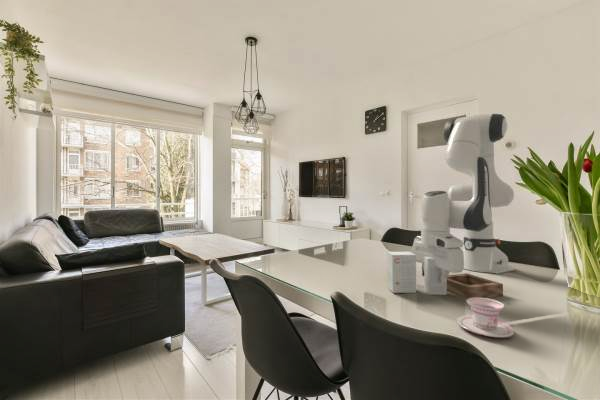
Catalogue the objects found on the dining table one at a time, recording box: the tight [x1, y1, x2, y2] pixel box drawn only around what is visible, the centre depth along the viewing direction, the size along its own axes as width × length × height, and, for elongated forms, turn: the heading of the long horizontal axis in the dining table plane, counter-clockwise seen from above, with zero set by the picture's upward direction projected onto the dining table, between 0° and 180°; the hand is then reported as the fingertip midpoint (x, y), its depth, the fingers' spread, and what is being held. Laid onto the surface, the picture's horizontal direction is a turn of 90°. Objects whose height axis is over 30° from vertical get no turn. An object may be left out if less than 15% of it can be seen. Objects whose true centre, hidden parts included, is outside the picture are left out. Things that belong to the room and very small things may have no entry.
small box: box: [387, 251, 417, 294], centre depth 101 cm, size 8×6×13 cm
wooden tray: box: [447, 272, 504, 300], centre depth 99 cm, size 14×14×4 cm
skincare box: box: [423, 257, 448, 296], centre depth 98 cm, size 6×4×12 cm
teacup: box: [456, 297, 515, 338], centre depth 72 cm, size 12×12×6 cm
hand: (435, 279), depth 98 cm, fingers closed on skincare box, 5 cm apart
